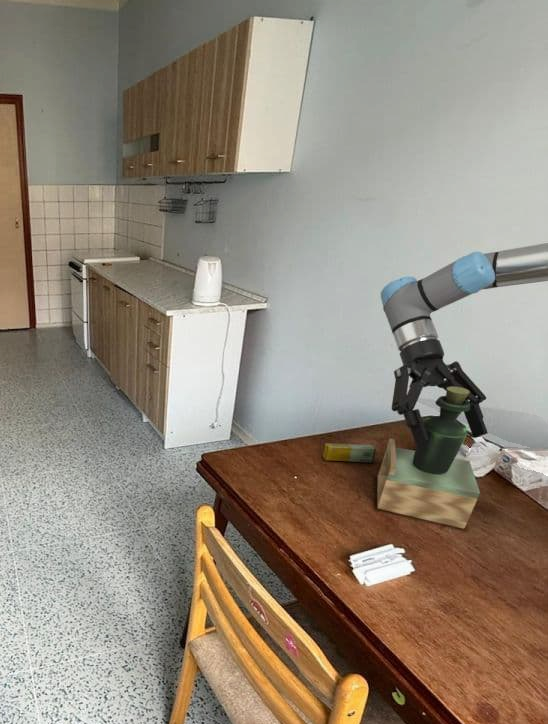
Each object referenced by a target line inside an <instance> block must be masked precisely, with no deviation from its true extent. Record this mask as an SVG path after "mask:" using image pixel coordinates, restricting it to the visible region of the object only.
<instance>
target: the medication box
mask: <svg viewBox="0 0 548 724" xmlns="http://www.w3.org/2000/svg"><path fill="white" fill-rule="evenodd" d="M376 451H377V447H375V446H374V445H372V444H356V443H355V444H354V443H353V444H352V443H324V449H323V454H322V458H323V459H324V460H325V461H329V462H331V461H333V462H351V463H352V462H353V463H354V462H356V463H372V464H373V463H374V461H375V460H374V459H375V455H376Z"/></svg>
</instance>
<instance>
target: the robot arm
mask: <svg viewBox="0 0 548 724" xmlns="http://www.w3.org/2000/svg"><path fill="white" fill-rule="evenodd" d="M544 282H548V242H543V243H539V244H538V243H537V244H534V245H527V246H522V247H515V248H508V249H503V250H499V251H493V252H492V251H491V252H487V253H482V252H481V251H478V250H477V251H473V252H471V253H468V254H467V255H463V256H462V257H459V258H457V259H456V260H455V261H453V262H451V263H449V264H448V265H446V266H444V267H441V268H439V269H438V270H436V271H435V272H433V273H431V274H429V275H428V276H426V277H424V278H421V279H419V280H417V278H416V277H415V276H402V277H401V278H399V279H395V280H393V281H390V282H389V283H388V284H386V285H385V286H384V287H383V288H382V290H381V291H380V299H381V304H382V310H383V312H384V314H385V316H386V319H387V322H388V324H389V327H390V330H391V333H392V336H393V339H394V341H395V344H396V348H397V350H398V351H399V357H400V360H401V363H402V366H399V367H398V368H397V369H395V370H393V375H394V379H395V381H394V387H393V395H392V402H391V410H392V411H393V412H397V414H398V415H400V416H402V415H403V418H404V421H405V423H406V426H407V427H408V428H409V429H410V431H411V434H412V437H413V440H414V443H415V444H417V443H421V442H423V441H426V440H429V438H428V435H427V432H426V429H425V426H424V423H423V421H424V420H423V418H422V414H421V412H420V409H419V408H415V407H416V405H417V402H418V400H419V398H420V395H421V393H422V391H423V388H427V387H438V388H439V389H443V390H444V391H447V387H460V388H464V389H467V390H468V391H470V393H469V394H468V396H467V397H466V399H465V400H467V401H468V402H469V403H470V410H469V411H465V412H463V413H464V416H465V419H466V421H467V424H468V427H469V430H470V433H471V435H472V438H473V439H474V438H479V437H482V436H485V435H487V434H489V432H488V430H487V427H486V424H485V421H484V414H483V412H482V409H481V407H480V404H481V403H483V402H484V401H486V400H487V396H486V395H485V393H483V391H482V390H481V389H480V388H479V387H478V386H477V385H476V384H475V383H474V381H473V380H472V379H471V378H470V377H469V376H468V374H467V373H466V372H465V371H464V370H463V368H462V366H461V364H460V363H459V361H457V360H456V361H453V362H452V363H449V364H448V363H447V364H446V363H445V362H444V356H445V352H444V349H443V346H442V344H441V340H439V335H438V332H437V330H436V326H435V324H434V322H433V319H432V317H431V314H432V313H434V312H436V311H439V310H440V309H442V308H444V307H447V306H449V305H451V304H454V303H456V302H458V301H460V300H462V299H464V298H467V297H469V296H471V295H473V294H477V293H478V292H481V291H482V290H490V289H495V288H503V287H511V286H519V285H526V284H535V283H544ZM410 378H411V379H412V380H411V381H410V384H409V380H410Z"/></svg>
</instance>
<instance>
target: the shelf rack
mask: <svg viewBox="0 0 548 724" xmlns="http://www.w3.org/2000/svg"><path fill="white" fill-rule="evenodd" d="M414 453H415V450H412V449H407V448H401V447H397V446H396V440H395V438H391V437H390V438H389V439H388V443H387V446H386V449H385V453H384V456H383V459H382V462H381V465H380V469H379V471H378V475H377V487H376V488H377V495H376V496H377V500H376V502H377V505H376V506H377V507H376V509H379V510H383V511H387V512H391V513H396V514H400V515H404V516H408V517H413V518H416V519H421V520H425V521H429V522H434V523H438V524H442V525H447V526H451V527H456V528H458V529H459V528H460V529H464V530H465V528H466V526H467V524H468V521H469V519H470V517H471V515H472V513H473V511H474V508H475V506H476V504H477V501H478V499H479V496H480V494H481V491H480V489H479V486H478V482H477V479H476V476H475V474H474V470H473V467H472V463H471V461H470V460H467V459H461V458H457V457H455V459H454V461H453V463H452V464H451V466H450V468H449V470H448V471H447V472H446V473H444V474H430V473H426V472H424V471H421V470H419V469H418V468H416V467H415V466H414V464H413V458H414Z"/></svg>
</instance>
